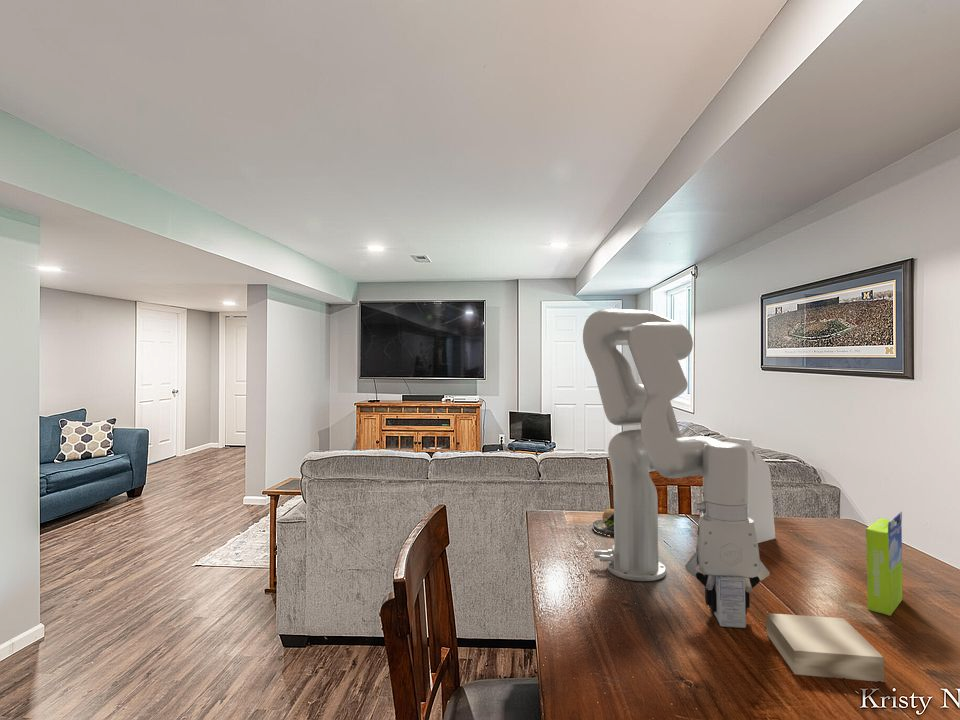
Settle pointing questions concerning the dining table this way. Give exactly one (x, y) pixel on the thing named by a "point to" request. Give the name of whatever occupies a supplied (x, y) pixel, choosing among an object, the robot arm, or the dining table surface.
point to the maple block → (824, 647)
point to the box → (884, 565)
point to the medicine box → (730, 601)
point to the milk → (758, 492)
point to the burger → (605, 523)
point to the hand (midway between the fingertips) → (727, 609)
